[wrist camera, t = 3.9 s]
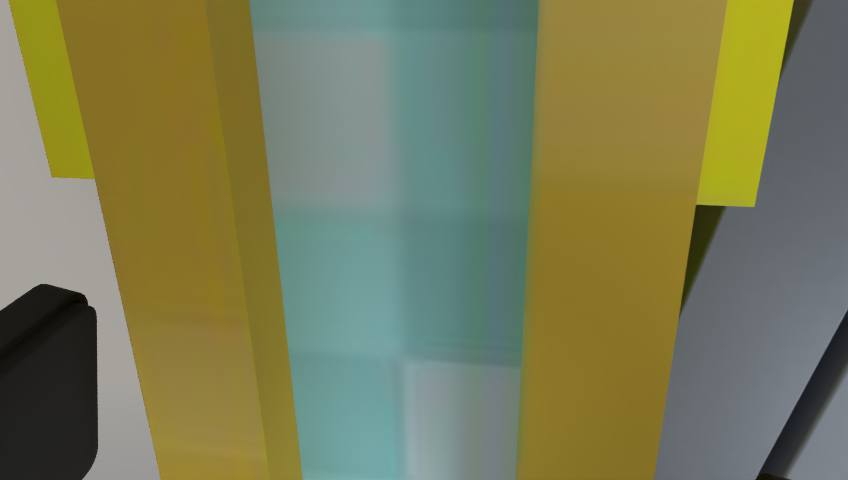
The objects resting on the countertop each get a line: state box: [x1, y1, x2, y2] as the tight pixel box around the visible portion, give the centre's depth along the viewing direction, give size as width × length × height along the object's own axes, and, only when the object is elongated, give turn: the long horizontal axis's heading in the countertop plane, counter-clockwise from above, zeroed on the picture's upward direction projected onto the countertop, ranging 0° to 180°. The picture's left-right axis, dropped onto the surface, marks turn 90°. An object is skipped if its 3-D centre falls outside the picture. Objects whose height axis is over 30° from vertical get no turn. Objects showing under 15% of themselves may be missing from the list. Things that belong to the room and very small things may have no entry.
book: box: [9, 0, 794, 480], centre depth 20 cm, size 17×7×25 cm, turn 1°
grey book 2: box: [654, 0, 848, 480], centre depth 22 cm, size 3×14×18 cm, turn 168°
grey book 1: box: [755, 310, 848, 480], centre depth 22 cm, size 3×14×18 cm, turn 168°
